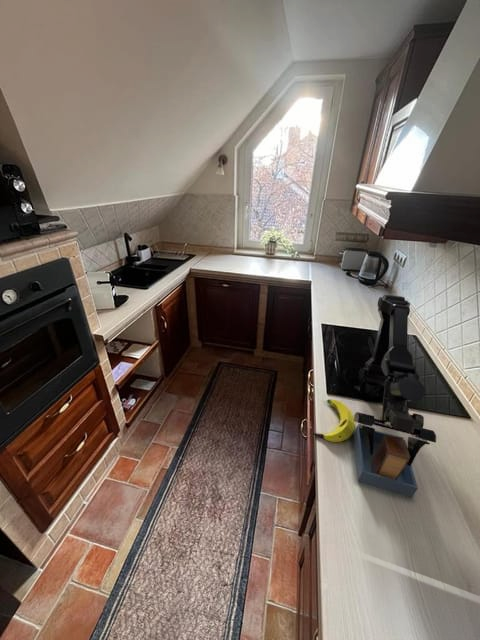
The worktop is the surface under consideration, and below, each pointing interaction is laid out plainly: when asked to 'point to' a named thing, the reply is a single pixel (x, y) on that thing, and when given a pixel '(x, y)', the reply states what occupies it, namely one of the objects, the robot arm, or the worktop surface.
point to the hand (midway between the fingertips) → (389, 460)
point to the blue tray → (364, 475)
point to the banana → (345, 424)
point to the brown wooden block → (390, 457)
